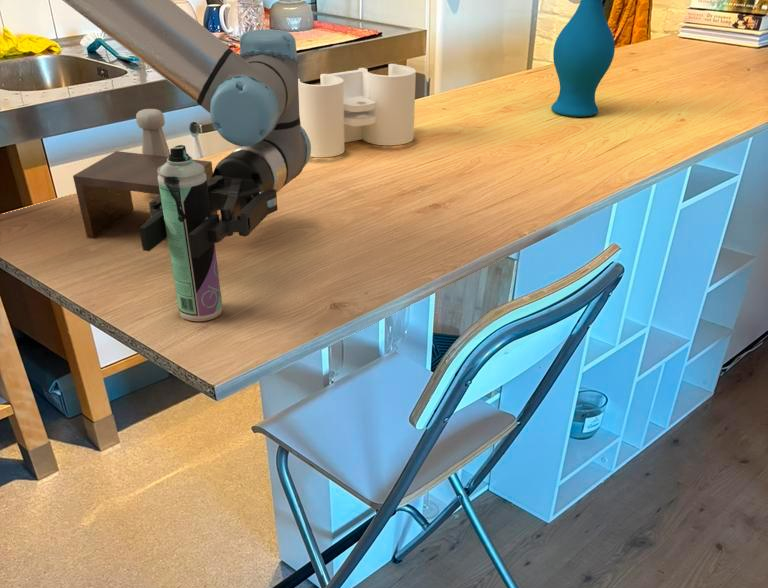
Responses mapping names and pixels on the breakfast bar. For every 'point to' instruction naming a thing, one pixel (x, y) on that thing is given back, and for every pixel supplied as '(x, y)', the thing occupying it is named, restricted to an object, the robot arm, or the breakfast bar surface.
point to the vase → (582, 59)
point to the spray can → (182, 215)
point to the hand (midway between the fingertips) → (168, 242)
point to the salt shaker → (152, 134)
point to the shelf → (118, 187)
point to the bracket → (358, 109)
